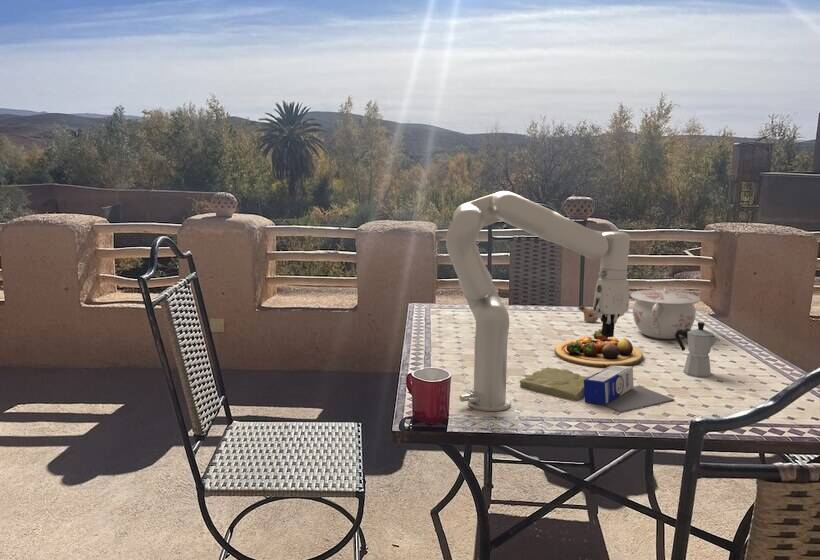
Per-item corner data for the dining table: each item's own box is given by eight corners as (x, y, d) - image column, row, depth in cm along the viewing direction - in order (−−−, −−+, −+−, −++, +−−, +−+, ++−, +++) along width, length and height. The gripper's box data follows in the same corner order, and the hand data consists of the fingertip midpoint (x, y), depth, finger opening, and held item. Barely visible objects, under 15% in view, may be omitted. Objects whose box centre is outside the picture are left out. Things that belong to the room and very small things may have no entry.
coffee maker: (720, 374, 229) (725, 323, 226) (710, 380, 222) (715, 328, 219) (677, 365, 239) (681, 316, 236) (667, 370, 233) (670, 320, 230)
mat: (620, 412, 194) (620, 411, 194) (587, 397, 206) (587, 396, 206) (674, 400, 204) (674, 399, 204) (639, 386, 216) (639, 385, 216)
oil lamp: (578, 322, 302) (578, 305, 301) (578, 320, 306) (578, 303, 305) (598, 323, 300) (599, 306, 299) (598, 321, 304) (599, 304, 302)
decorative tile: (576, 402, 203) (577, 391, 203) (519, 388, 216) (519, 377, 215) (602, 387, 217) (603, 376, 217) (547, 374, 230) (547, 364, 229)
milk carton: (604, 382, 197) (633, 366, 212) (583, 379, 202) (612, 364, 217) (605, 405, 198) (633, 388, 213) (584, 402, 203) (613, 385, 217)
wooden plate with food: (573, 340, 274) (574, 320, 272) (653, 352, 255) (654, 331, 254) (540, 360, 248) (540, 338, 247) (626, 375, 230) (627, 352, 228)
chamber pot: (667, 325, 297) (670, 279, 294) (712, 341, 272) (717, 291, 268) (613, 330, 289) (616, 283, 285) (655, 346, 263) (658, 295, 259)
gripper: (602, 278, 187) (597, 341, 190) (641, 275, 194) (635, 336, 197) (584, 273, 193) (579, 335, 197) (622, 271, 200) (616, 330, 203)
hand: (607, 335), depth 197 cm, fingers closed
